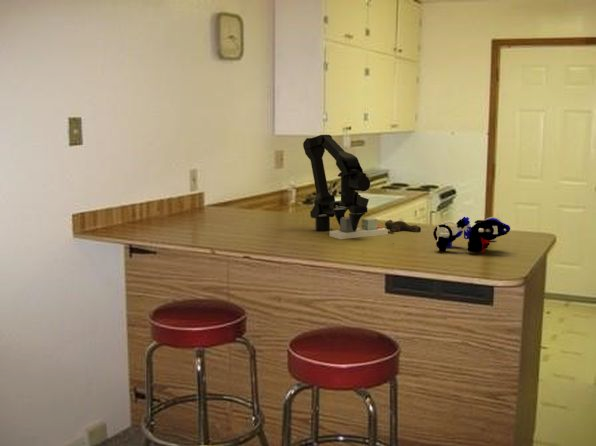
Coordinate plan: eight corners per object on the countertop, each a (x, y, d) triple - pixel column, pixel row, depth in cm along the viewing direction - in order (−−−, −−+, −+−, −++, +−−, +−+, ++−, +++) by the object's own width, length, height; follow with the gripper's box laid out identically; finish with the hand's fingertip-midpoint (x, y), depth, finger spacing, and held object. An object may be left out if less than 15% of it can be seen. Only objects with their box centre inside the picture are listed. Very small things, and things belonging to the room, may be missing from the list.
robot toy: (441, 214, 252) (512, 215, 241) (442, 246, 254) (512, 249, 243) (431, 220, 238) (505, 222, 228) (431, 254, 240) (505, 257, 229)
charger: (340, 235, 269) (340, 217, 268) (349, 234, 271) (349, 216, 270) (346, 237, 265) (346, 218, 264) (355, 236, 267) (355, 217, 266)
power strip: (340, 241, 262) (340, 232, 261) (329, 238, 269) (329, 229, 268) (387, 236, 272) (387, 227, 271) (376, 233, 279) (376, 224, 278)
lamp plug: (361, 233, 273) (361, 218, 272) (370, 232, 275) (371, 217, 275) (367, 235, 270) (368, 220, 269) (377, 234, 272) (377, 219, 271)
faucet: (424, 232, 280) (406, 242, 269) (388, 227, 290) (369, 236, 279) (424, 221, 279) (406, 231, 268) (388, 216, 289) (369, 225, 278)
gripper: (379, 190, 261) (378, 230, 263) (352, 185, 277) (352, 224, 279) (354, 191, 255) (354, 233, 258) (328, 187, 272) (328, 226, 274)
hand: (348, 229), depth 267 cm, fingers open, 9 cm apart
